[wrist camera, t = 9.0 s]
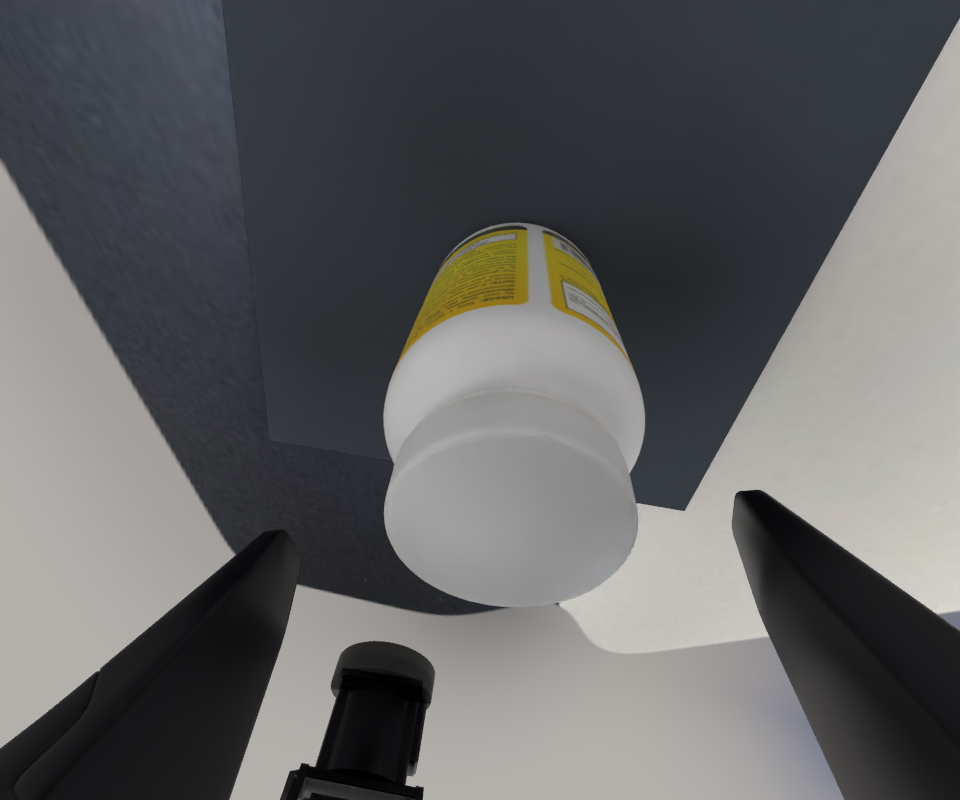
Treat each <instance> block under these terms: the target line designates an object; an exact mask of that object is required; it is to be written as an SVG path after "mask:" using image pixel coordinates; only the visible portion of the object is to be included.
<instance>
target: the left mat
mask: <svg viewBox="0 0 960 800" xmlns="http://www.w3.org/2000/svg"><path fill="white" fill-rule="evenodd" d="M222 7H223V16H224V26H225V35H226V44H227V53H228V62H229V71H230V81H231V90H232V99H233V108H234V117H235V126H236V135H237V145H238V154H239V163H240V172H241V181H242V190H243V200H244V209H245V218H246V227H247V236H248V245H249V254H250V264H251V273H252V282H253V291H254V300H255V309H256V319H257V328H258V337H259V346H260V355H261V364H262V373H263V383H264V392H265V401H266V410H267V419H268V428H269V438H270V440H271V441H277V442H282V443H288V444H294V445H300V446H306V447H312V448H318V449H324V450H329V451H335V452H341V453H347V454H353V455H359V456H365V457H371V458H376V459H382V460H388V461H393V460H392V458H391V456H390V453H389V450H388V447H387V443H386V439H385V432H384V418H383V414H384V404H385V400H386V395H387V391H388V387H389V383H390V380H391V378H392V375H393V372H394V370H395V368H396V365H397V363H398V361H399V358H400V356H401V354H402V351H403V349H404V346H405V344H406V342H407V339H408V337H409V335H410V332H411V330H412V328H413V326H414V323H415V321H416V319H417V316H418V314H419V312H420V310H421V308H422V306H423V304H424V301H425V299H426V297H427V294H428V292H429V290H430V288H431V285H432V283H433V280H434V278H435V276H436V274H437V272H438V271H439V269H440V267H441V265H442V263H443V262H444V260H445V259H446V258H447V256H448V255H449V254H450V253H451V252H452V251H453V249H454V248H455V247H456V246H458V245H459V244H460V243H461V242H462V241H464V240H465V239H466V238H467V237H469V236H471V235H472V234H474V233H476V232H478V231H480V230H482V229H485V228H487V227H490V226H494V225H499V224H504V223H529V224H534V225H539V226H542V227H545V228H548V229H550V230H553V231H555V232H557V233H558V234H560V235H562V236H563V237H565V238H567V239H568V240H569V241H570V242H572V243H573V244H574V245H575V246H576V247H577V248H578V249H579V250H580V251H581V252H582V253H583V255H584V256H585V257H586V259H587V260H588V262H589V263H590V265H591V267H592V269H593V271H594V273H595V275H596V277H597V279H598V281H599V283H600V286H601V289H602V292H603V294H604V297H605V299H606V302H607V305H608V307H609V309H610V312H611V314H612V317H613V320H614V322H615V324H616V327H617V330H618V332H619V334H620V337H621V340H622V342H623V345H624V347H625V350H626V352H627V355H628V357H629V359H630V361H631V364H632V366H633V369H634V372H635V375H636V377H637V380H638V383H639V386H640V390H641V394H642V398H643V404H644V410H645V432H644V437H643V443H642V446H641V450H640V453H639V456H638V458H637V461H636V463H635V465H634V466H633V468H632V470H631V472H630V474H629V475H630V478H631V483H632V488H633V492H634V496H635V500H636V503H641V504H647V505H653V506H658V507H664V508H670V509H676V510H682V511H685V509H686V507H687V506H688V504H689V502H690V500H691V498H692V497H693V495H694V493H695V491H696V489H697V488H698V486H699V484H700V482H701V480H702V479H703V477H704V475H705V473H706V471H707V470H708V468H709V466H710V464H711V463H712V461H713V459H714V457H715V455H716V454H717V452H718V450H719V448H720V446H721V445H722V443H723V441H724V439H725V437H726V436H727V434H728V432H729V430H730V428H731V427H732V425H733V423H734V421H735V420H736V418H737V416H738V414H739V412H740V411H741V409H742V407H743V405H744V403H745V402H746V400H747V398H748V396H749V394H750V393H751V391H752V389H753V387H754V385H755V384H756V382H757V380H758V378H759V377H760V375H761V373H762V371H763V369H764V368H765V366H766V364H767V362H768V360H769V359H770V357H771V355H772V353H773V351H774V350H775V348H776V346H777V344H778V342H779V341H780V339H781V337H782V335H783V334H784V332H785V330H786V328H787V326H788V325H789V323H790V321H791V319H792V317H793V316H794V314H795V312H796V310H797V308H798V307H799V305H800V303H801V301H802V299H803V298H804V296H805V294H806V292H807V291H808V289H809V287H810V285H811V283H812V282H813V280H814V278H815V276H816V274H817V273H818V271H819V269H820V267H821V265H822V264H823V262H824V260H825V258H826V256H827V255H828V253H829V251H830V249H831V248H832V246H833V244H834V242H835V240H836V239H837V237H838V235H839V233H840V231H841V230H842V228H843V226H844V224H845V222H846V221H847V219H848V217H849V215H850V213H851V212H852V210H853V208H854V206H855V205H856V203H857V201H858V199H859V197H860V196H861V194H862V192H863V190H864V188H865V187H866V185H867V183H868V181H869V179H870V178H871V176H872V174H873V172H874V170H875V169H876V167H877V165H878V163H879V162H880V160H881V158H882V156H883V154H884V153H885V151H886V149H887V147H888V145H889V144H890V142H891V140H892V138H893V136H894V135H895V133H896V131H897V129H898V127H899V126H900V124H901V122H902V120H903V119H904V117H905V115H906V113H907V111H908V110H909V108H910V106H911V104H912V102H913V101H914V99H915V97H916V95H917V93H918V92H919V90H920V88H921V86H922V84H923V83H924V81H925V79H926V77H927V76H928V74H929V72H930V70H931V68H932V67H933V65H934V63H935V61H936V59H937V58H938V56H939V54H940V52H941V50H942V49H943V47H944V45H945V43H946V41H947V40H948V38H949V36H950V34H951V33H952V31H953V29H954V27H955V25H956V24H957V22H958V20H959V18H960V0H222Z"/></svg>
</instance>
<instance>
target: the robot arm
mask: <svg viewBox="0 0 960 800" xmlns="http://www.w3.org/2000/svg"><path fill="white" fill-rule="evenodd" d="M732 530H733V535H734V538H735V541H736V544H737V547H738V550H739V553H740V556H741V559H742V562H743V565H744V569H745V572H746V575H747V578H748V581H749V584H750V587H751V590H752V593H753V596H754V599H755V602H756V605H757V608H758V611H759V613H760V616H761V618H762V621H763V623H764V625H765V628H766V630H767V632H768V634H769V636H770V639H771V641H772V643H773V645H774V647H775V649H776V651H777V654H778V656H779V658H780V660H781V663H782V665H783V667H784V669H785V671H786V673H787V676H788V678H789V680H790V682H791V684H792V686H793V689H794V691H795V693H796V695H797V697H798V699H799V702H800V704H801V706H802V708H803V710H804V713H805V715H806V717H807V719H808V721H809V724H810V726H811V728H812V730H813V732H814V734H815V736H816V739H817V741H818V743H819V745H820V747H821V749H822V752H823V754H824V756H825V758H826V760H827V763H828V765H829V767H830V769H831V771H832V774H833V776H834V778H835V780H836V782H837V784H838V787H839V789H840V791H841V793H842V795H843V797H844V800H960V631H959V630H958V629H956V628H955V627H954V626H952V625H951V624H950V623H948V622H947V621H945V620H944V619H943V618H941V617H940V616H938V615H937V614H936V613H934V612H933V611H931V610H930V609H929V608H927V607H926V606H924V605H923V604H921V603H920V602H919V601H917V600H916V599H914V598H913V597H912V596H910V595H909V594H907V593H906V592H905V591H903V590H902V589H900V588H899V587H898V586H896V585H895V584H893V583H892V582H891V581H889V580H888V579H886V578H885V577H884V576H882V575H881V574H879V573H878V572H877V571H875V570H874V569H872V568H871V567H869V566H868V565H867V564H865V563H864V562H862V561H861V560H860V559H858V558H857V557H855V556H854V555H853V554H851V553H850V552H848V551H847V550H846V549H844V548H843V547H841V546H840V545H839V544H837V543H836V542H834V541H833V540H832V539H830V538H829V537H827V536H826V535H824V534H823V533H822V532H820V531H819V530H817V529H816V528H815V527H813V526H812V525H810V524H809V523H808V522H806V521H805V520H803V519H802V518H801V517H799V516H798V515H796V514H795V513H794V512H792V511H791V510H789V509H788V508H787V507H785V506H784V505H782V504H781V503H779V502H778V501H777V500H775V499H774V498H772V497H771V496H770V495H768V494H767V493H765V492H764V491H761V490H749V491H740V492H738V493H736V495H735V500H734V509H733V517H732ZM300 567H301V557H300V554H299V552H298V550H297V548H296V547H295V545H294V543H293V541H292V540H291V538H290V536H289V535H288V533H287V532H286V531H284V530H271V531H265V532H263V533H262V534H261V535H260V536H258V537H257V538H256V539H255V540H254V541H252V542H251V543H250V544H249V545H248V546H246V547H245V548H244V549H243V550H242V551H240V552H239V553H238V554H237V555H236V556H234V557H233V558H232V559H231V560H230V561H229V562H227V563H226V564H225V565H224V566H223V567H221V568H220V569H219V570H218V571H216V573H214V574H213V575H212V576H210V577H209V578H208V579H207V580H206V581H205V582H203V583H202V584H201V585H200V586H199V587H197V588H196V589H195V590H194V591H193V592H191V593H190V594H189V595H188V596H187V597H185V598H184V599H183V600H182V601H181V602H179V603H178V604H177V605H176V606H175V607H173V608H172V609H171V610H170V611H169V612H167V613H166V614H165V615H164V616H163V617H161V618H160V619H159V620H158V621H157V622H155V623H154V624H153V625H152V626H151V627H149V628H148V629H147V630H146V631H145V632H143V633H142V634H141V635H140V636H139V637H137V638H136V639H135V640H134V641H133V642H132V643H130V644H129V645H128V646H127V647H125V648H124V649H123V650H122V651H121V652H119V653H118V654H117V655H116V656H115V657H113V658H112V659H111V660H110V661H109V662H108V663H106V664H105V665H104V666H103V667H102V668H101V669H100V671H97V672H95V673H94V674H93V675H92V676H91V677H89V678H88V679H87V680H86V681H85V682H83V683H82V684H81V685H80V686H79V687H77V688H76V689H75V690H74V691H73V692H71V693H70V694H69V695H68V696H66V697H65V698H64V699H63V700H62V701H60V702H59V703H58V704H57V705H55V706H54V707H53V708H52V709H50V710H49V711H48V712H47V713H46V714H44V715H43V716H42V717H41V718H40V719H38V720H37V721H35V722H34V723H33V724H31V725H30V726H29V727H28V728H26V729H25V730H24V731H22V732H21V733H20V734H19V735H17V736H16V737H15V738H13V739H12V740H11V741H9V742H8V743H7V744H6V745H4V746H3V747H2V748H0V800H229V799H230V796H231V793H232V790H233V787H234V784H235V781H236V778H237V775H238V772H239V769H240V766H241V763H242V760H243V757H244V754H245V751H246V748H247V746H248V743H249V739H250V737H251V734H252V731H253V728H254V725H255V722H256V719H257V716H258V713H259V710H260V707H261V704H262V701H263V698H264V695H265V692H266V689H267V686H268V683H269V680H270V677H271V674H272V671H273V668H274V665H275V663H276V660H277V657H278V653H279V651H280V648H281V644H282V641H283V638H284V635H285V631H286V627H287V623H288V619H289V615H290V610H291V606H292V602H293V597H294V593H295V589H296V585H297V580H298V576H299V572H300ZM423 689H424V682H423V681H421V680H418V679H412V678H405V677H399V676H393V675H387V674H380V673H374V672H368V671H362V670H355V669H349V668H342V669H341V670H340V673H339V691H338V694H337V697H336V700H335V704H334V707H333V710H332V714H331V717H330V720H329V723H328V727H327V730H326V733H325V736H324V740H323V743H322V746H321V749H320V753H319V756H318V759H317V762H316V766H315V767H312V766H309V764H305V763H302V764H301V766H300V769H298V770H294V771H290V773H289V775H288V778H287V781H286V784H285V787H284V790H283V793H282V796H281V798H280V800H423V789H424V787H419V786H416V787H411V786H406V785H405V784H406V778H407V776H413V775H414V774H415V773H416V768H417V763H418V757H419V752H420V745H421V739H422V733H423V726H424V720H425V713H426V707H427V702H426V701H425V700H422V694H423Z"/></svg>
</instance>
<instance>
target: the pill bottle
mask: <svg viewBox="0 0 960 800" xmlns="http://www.w3.org/2000/svg"><path fill="white" fill-rule="evenodd" d="M383 418H384V432H385V439H386V443H387V447H388V450H389V453H390V456H391V458H392V460H393V463H394V468H393V473H392V477H391V480H390V483H389V487H388V490H387V494H386V499H385V505H384V519H385V528H386V532H387V535H388V538H389V540H390V542H391V544H392V547H393V548H394V550H395V552H396V553H397V555H398V557H399V558H400V559H401V560H402V562H403V563H404V564H405V565H406V566H407V567H408V568H409V569H410V570H411V571H412V572H413V573H415V574H416V575H417V576H418V577H419V578H421V579H422V580H424V581H425V582H427V583H428V584H430V585H432V586H434V587H435V588H437V589H439V590H442V591H444V592H446V593H448V594H450V595H453V596H456V597H458V598H461V599H465V600H468V601H472V602H477V603H481V604H486V605H493V606H502V607H532V606H541V605H548V604H554V603H558V602H562V601H566V600H569V599H572V598H574V597H577V596H580V595H582V594H584V593H586V592H589V591H590V590H592V589H594V588H595V587H597V586H599V585H600V584H601V583H603V582H604V581H605V580H607V579H608V578H610V577H611V576H612V575H613V574H614V573H615V572H616V571H617V570H618V569H619V568H620V567H621V565H622V564H623V563H624V562H625V560H626V559H627V557H628V555H629V554H630V552H631V550H632V548H633V546H634V543H635V539H636V535H637V530H638V511H637V505H636V500H635V496H634V492H633V488H632V483H631V478H630V475H629V474H630V472H631V470H632V468H633V466H634V465H635V463H636V461H637V458H638V456H639V453H640V450H641V446H642V443H643V437H644V432H645V410H644V404H643V398H642V394H641V390H640V386H639V383H638V380H637V377H636V375H635V372H634V369H633V366H632V364H631V361H630V359H629V357H628V355H627V352H626V350H625V347H624V345H623V342H622V340H621V337H620V334H619V332H618V330H617V327H616V324H615V322H614V320H613V317H612V314H611V312H610V309H609V307H608V305H607V302H606V299H605V297H604V294H603V292H602V289H601V286H600V283H599V281H598V279H597V277H596V275H595V273H594V271H593V269H592V267H591V265H590V263H589V262H588V260H587V259H586V257H585V256H584V255H583V253H582V252H581V251H580V250H579V249H578V248H577V247H576V246H575V245H574V244H573V243H572V242H570V241H569V240H568V239H567V238H565V237H563V236H562V235H560V234H558V233H557V232H555V231H553V230H550V229H548V228H545V227H542V226H539V225H534V224H529V223H504V224H499V225H494V226H490V227H487V228H485V229H482V230H480V231H478V232H476V233H474V234H472V235H471V236H469V237H467V238H466V239H465V240H464V241H462V242H461V243H460V244H459V245H458V246H456V247H455V248H454V249H453V251H452V252H451V253H450V254H449V255H448V256H447V258H446V259H445V260H444V262H443V263H442V265H441V267H440V269H439V271H438V272H437V274H436V276H435V278H434V280H433V283H432V285H431V288H430V290H429V292H428V294H427V297H426V299H425V301H424V304H423V306H422V308H421V310H420V312H419V314H418V316H417V319H416V321H415V323H414V326H413V328H412V330H411V332H410V335H409V337H408V339H407V342H406V344H405V346H404V349H403V351H402V354H401V356H400V358H399V361H398V363H397V365H396V368H395V370H394V372H393V375H392V378H391V380H390V383H389V387H388V391H387V395H386V400H385V404H384V414H383Z"/></svg>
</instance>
